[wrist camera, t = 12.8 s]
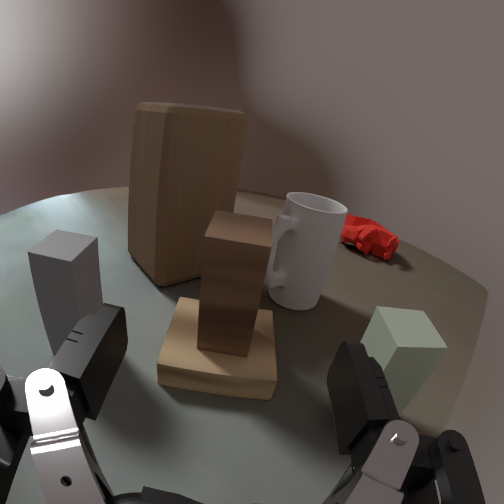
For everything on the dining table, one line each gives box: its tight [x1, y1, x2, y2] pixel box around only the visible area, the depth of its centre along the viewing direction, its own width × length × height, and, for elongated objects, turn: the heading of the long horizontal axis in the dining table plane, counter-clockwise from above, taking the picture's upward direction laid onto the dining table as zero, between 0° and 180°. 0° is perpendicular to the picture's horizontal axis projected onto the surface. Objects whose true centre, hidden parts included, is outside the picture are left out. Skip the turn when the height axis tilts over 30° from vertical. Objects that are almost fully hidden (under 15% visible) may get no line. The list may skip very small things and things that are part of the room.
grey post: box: [28, 230, 103, 355], centre depth 21 cm, size 4×4×10 cm
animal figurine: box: [340, 214, 399, 260], centre depth 57 cm, size 12×15×5 cm
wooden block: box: [128, 102, 248, 287], centre depth 35 cm, size 10×10×20 cm
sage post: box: [330, 306, 447, 437], centre depth 19 cm, size 4×4×10 cm
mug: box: [264, 192, 348, 311], centre depth 33 cm, size 10×7×12 cm, turn 130°
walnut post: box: [197, 210, 272, 357], centre depth 22 cm, size 4×4×10 cm
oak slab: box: [157, 297, 278, 400], centre depth 26 cm, size 9×9×3 cm
